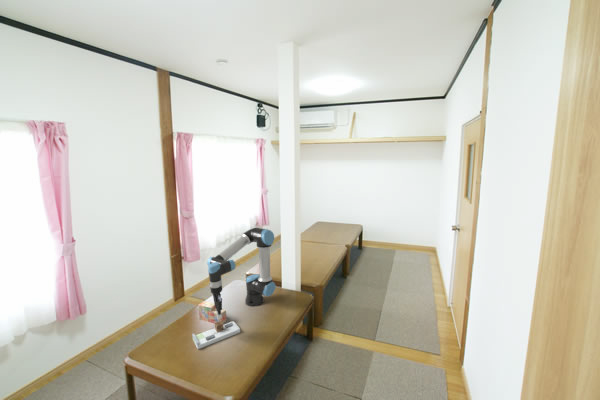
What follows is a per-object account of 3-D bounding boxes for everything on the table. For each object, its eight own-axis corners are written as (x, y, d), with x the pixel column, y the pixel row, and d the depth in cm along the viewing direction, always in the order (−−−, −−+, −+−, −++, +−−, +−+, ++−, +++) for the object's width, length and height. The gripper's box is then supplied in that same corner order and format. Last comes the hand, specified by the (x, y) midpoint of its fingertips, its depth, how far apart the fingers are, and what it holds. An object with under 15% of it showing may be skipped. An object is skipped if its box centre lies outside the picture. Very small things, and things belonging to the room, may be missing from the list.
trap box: (233, 324, 204) (233, 318, 203) (240, 332, 194) (239, 326, 193) (192, 339, 187) (192, 333, 187) (197, 349, 177) (197, 343, 177)
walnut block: (221, 326, 197) (220, 320, 196) (223, 329, 193) (223, 323, 192) (215, 329, 194) (214, 323, 193) (217, 332, 190) (216, 326, 190)
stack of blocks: (227, 321, 208) (225, 306, 206) (221, 325, 202) (220, 310, 200) (205, 315, 217) (204, 300, 215) (199, 319, 211) (198, 304, 209)
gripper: (207, 284, 189) (210, 315, 193) (213, 291, 178) (217, 324, 182) (218, 280, 193) (221, 311, 197) (224, 287, 182) (228, 320, 186)
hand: (219, 317), depth 190 cm, fingers closed
